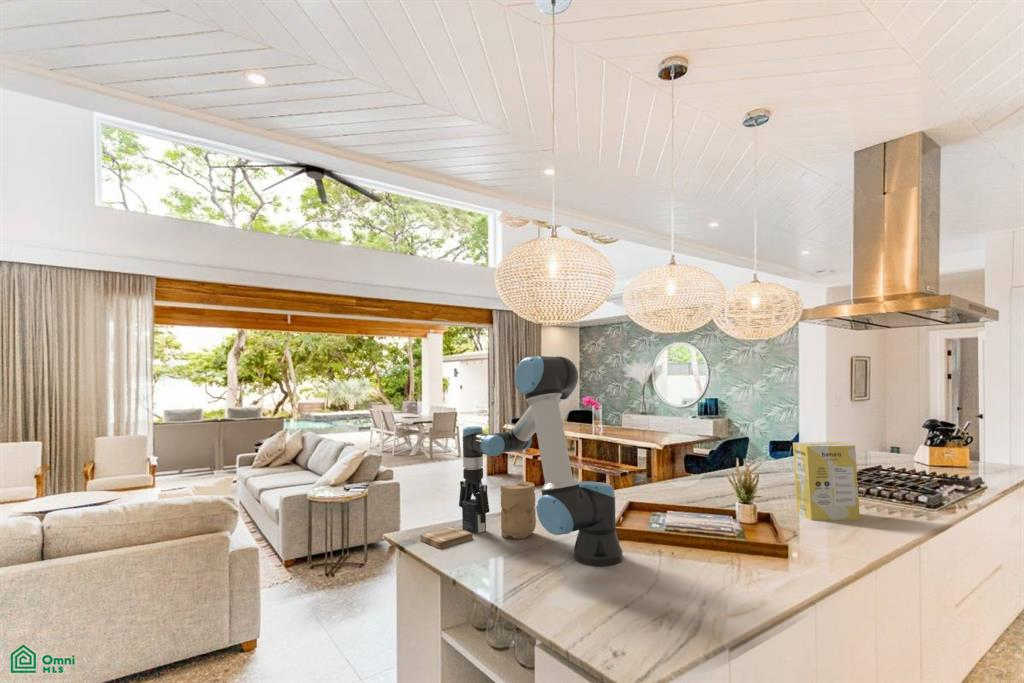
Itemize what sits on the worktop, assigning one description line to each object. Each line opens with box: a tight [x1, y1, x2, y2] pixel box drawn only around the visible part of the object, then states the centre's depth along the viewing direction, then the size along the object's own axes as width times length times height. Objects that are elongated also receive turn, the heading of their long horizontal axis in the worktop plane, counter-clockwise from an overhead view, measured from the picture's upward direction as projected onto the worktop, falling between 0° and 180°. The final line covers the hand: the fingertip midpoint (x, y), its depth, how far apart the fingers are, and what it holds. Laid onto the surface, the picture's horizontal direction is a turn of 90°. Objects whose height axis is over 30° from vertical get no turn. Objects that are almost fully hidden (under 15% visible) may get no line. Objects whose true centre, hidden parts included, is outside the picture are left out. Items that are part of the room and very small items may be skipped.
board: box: [420, 526, 474, 550], centre depth 178 cm, size 12×14×2 cm
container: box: [500, 481, 537, 540], centre depth 182 cm, size 13×13×18 cm
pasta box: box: [792, 441, 861, 521], centre depth 199 cm, size 18×10×28 cm, turn 88°
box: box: [461, 498, 487, 534], centre depth 190 cm, size 8×6×11 cm
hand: (474, 529), depth 189 cm, fingers closed on box, 8 cm apart
